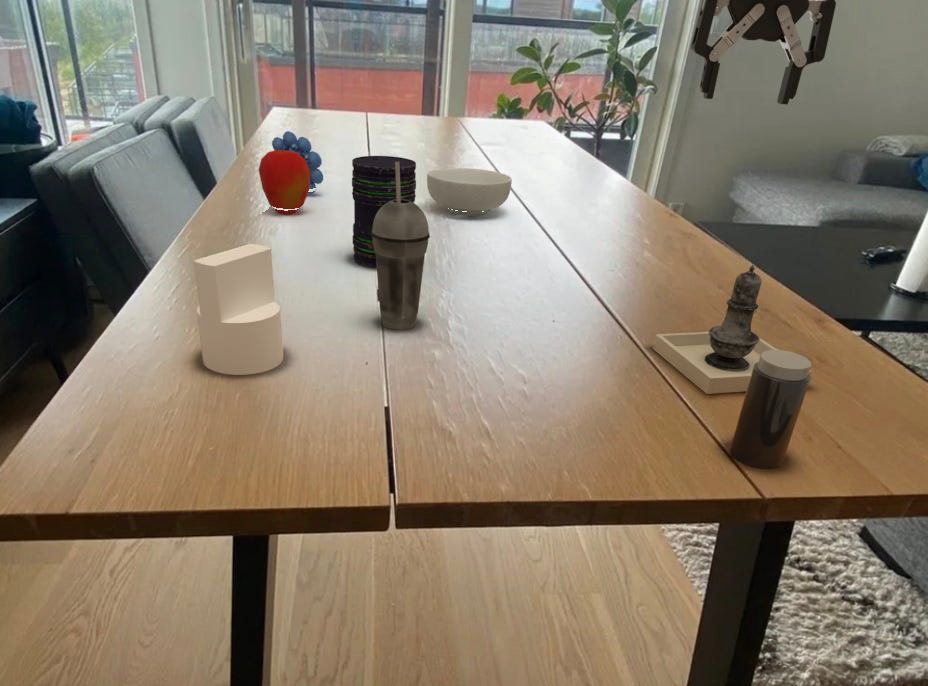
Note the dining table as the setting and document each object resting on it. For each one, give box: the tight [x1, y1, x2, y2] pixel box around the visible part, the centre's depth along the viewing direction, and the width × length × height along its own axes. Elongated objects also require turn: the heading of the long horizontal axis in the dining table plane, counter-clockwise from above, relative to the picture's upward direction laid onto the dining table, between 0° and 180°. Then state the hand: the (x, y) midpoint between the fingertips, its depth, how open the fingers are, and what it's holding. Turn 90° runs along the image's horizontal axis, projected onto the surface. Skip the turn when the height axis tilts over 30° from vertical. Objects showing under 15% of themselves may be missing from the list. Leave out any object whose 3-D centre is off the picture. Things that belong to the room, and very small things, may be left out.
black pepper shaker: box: [729, 349, 812, 469], centre depth 72 cm, size 5×5×10 cm
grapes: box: [271, 130, 324, 195], centre depth 156 cm, size 12×7×12 cm, turn 75°
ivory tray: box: [652, 331, 812, 395], centre depth 93 cm, size 13×13×2 cm
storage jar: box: [351, 155, 417, 270], centre depth 120 cm, size 10×10×15 cm
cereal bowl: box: [426, 167, 513, 217], centre depth 153 cm, size 17×17×7 cm
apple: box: [258, 146, 310, 216], centre depth 144 cm, size 9×9×12 cm
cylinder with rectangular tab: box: [193, 243, 284, 376], centre depth 85 cm, size 9×9×12 cm
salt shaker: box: [705, 264, 762, 371], centre depth 90 cm, size 6×6×12 cm
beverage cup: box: [371, 162, 431, 331], centre depth 95 cm, size 7×7×20 cm
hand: (745, 101), depth 89 cm, fingers open, 8 cm apart
